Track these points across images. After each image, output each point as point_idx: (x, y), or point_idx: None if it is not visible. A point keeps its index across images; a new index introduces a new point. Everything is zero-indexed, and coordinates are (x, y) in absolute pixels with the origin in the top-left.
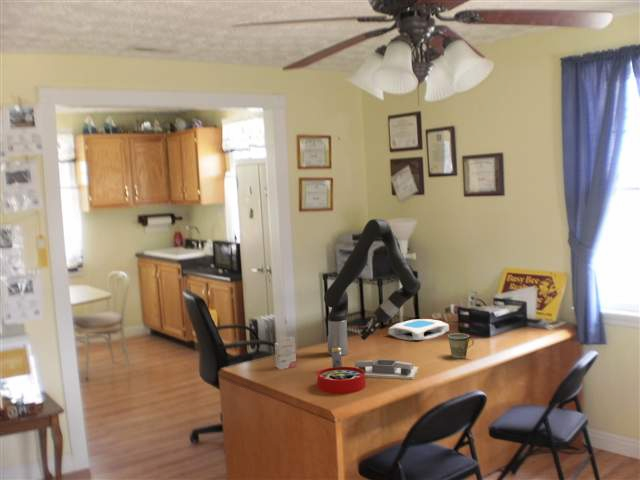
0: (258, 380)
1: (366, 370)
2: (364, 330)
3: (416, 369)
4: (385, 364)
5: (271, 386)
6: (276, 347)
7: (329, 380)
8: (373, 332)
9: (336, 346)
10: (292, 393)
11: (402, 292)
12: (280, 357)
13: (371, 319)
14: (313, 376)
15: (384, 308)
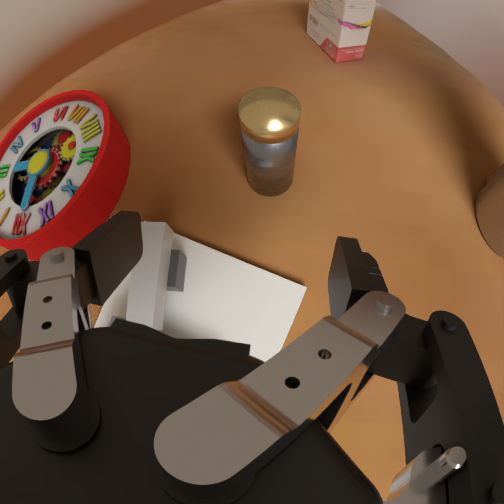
0: (212, 8)
1: (175, 299)
2: (342, 278)
3: None
4: None
5: (150, 31)
6: None
7: (10, 132)
8: (8, 323)
9: (498, 189)
10: (77, 74)
11: None
12: (310, 4)
13: (485, 412)
14: (198, 96)
15: None
